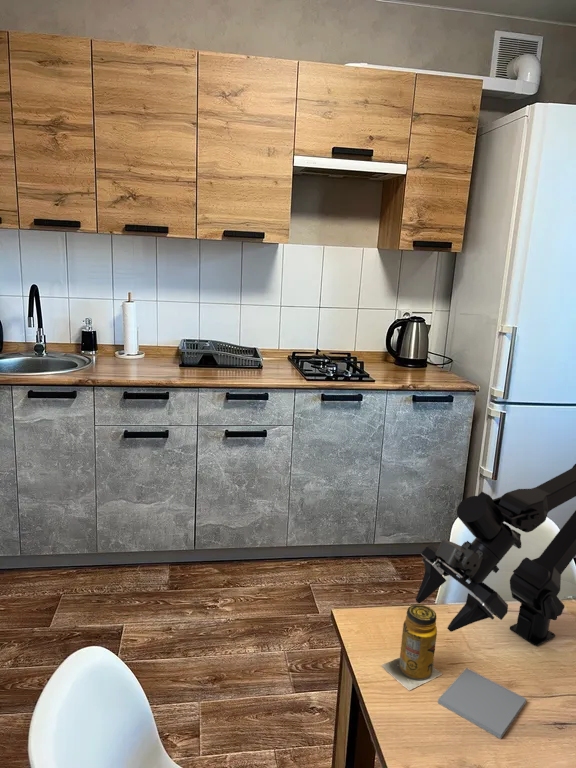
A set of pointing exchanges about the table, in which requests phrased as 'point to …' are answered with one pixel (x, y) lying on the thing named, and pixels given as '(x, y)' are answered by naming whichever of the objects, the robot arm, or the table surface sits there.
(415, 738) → the table surface
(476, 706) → the coaster board
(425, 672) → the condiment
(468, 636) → the table surface
